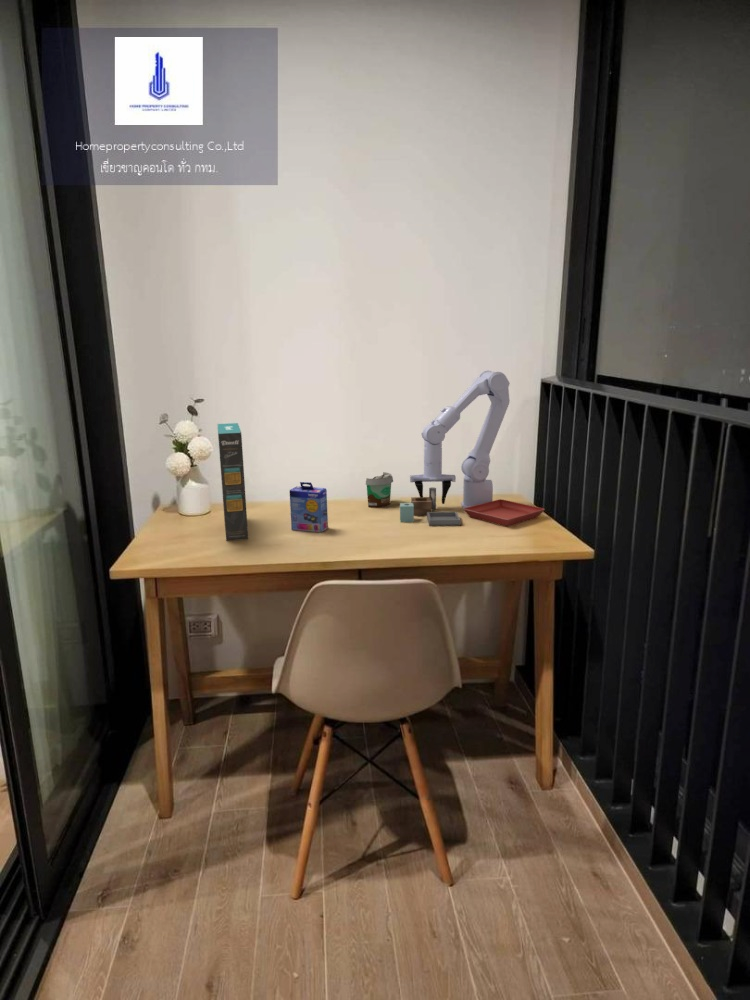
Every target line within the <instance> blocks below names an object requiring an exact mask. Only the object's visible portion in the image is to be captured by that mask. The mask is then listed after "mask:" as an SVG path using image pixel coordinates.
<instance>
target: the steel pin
mask: <svg viewBox="0 0 750 1000" xmlns="http://www.w3.org/2000/svg"><path fill="white" fill-rule="evenodd" d="M428 489H429V490H428V497H430V499H431V501H432V511H434V510H435V511H436V510H437V487H429V488H428Z"/></svg>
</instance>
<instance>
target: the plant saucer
mask: <svg viewBox="0 0 750 1000" xmlns="http://www.w3.org/2000/svg"><path fill="white" fill-rule="evenodd" d="M462 509H463V511H464V512H465V513H466V515H468V516H469V517H470V518H472V519H476V520H480V521H483V522H487V523H491V524H494V525H498V526H502V527H511V526H514V525H517V524H521V523H525V522H527V521H531V520H535V519H537V518H538V517H539V516H541V514H542V513H544V511H545V508H543V507H539V506H533V505H529V504H525V503H520V502H516V501H510V500H506V499H501V498H500V499H496V500H492V501H491V502H487V503H483V504H479V505H475V506H471V507H467V508H463V507H462Z"/></svg>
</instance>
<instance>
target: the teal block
mask: <svg viewBox="0 0 750 1000" xmlns="http://www.w3.org/2000/svg"><path fill="white" fill-rule="evenodd" d="M414 517H415V516H414V506H413V503H411V502H400V503H399V521H400V523H414V520H415V518H414Z"/></svg>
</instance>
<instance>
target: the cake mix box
mask: <svg viewBox="0 0 750 1000" xmlns="http://www.w3.org/2000/svg"><path fill="white" fill-rule="evenodd" d="M216 426H217V436H218V437H217V439H218V440H217V441H218V450H219V452H218V453H219V463H220V477H221V491H222V507H223V517H224V519H223V520H224V528H225V529H224V530H225V541H227V542H228V541H239V540H248V539H249V529H248V517H247V516H248V515H247V513H248V512H247V499H246V486H245V485H246V484H245V483H246V482H245V473H244V472H245V469H244V468H245V467H244V455H243V453H244V452H243V438H242V437H243V436H242V435H243V434H242V430H241V428H240V426H239V423H238V422H236V423H235V422H233V423H230V422H229V423H217V424H216Z"/></svg>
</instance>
